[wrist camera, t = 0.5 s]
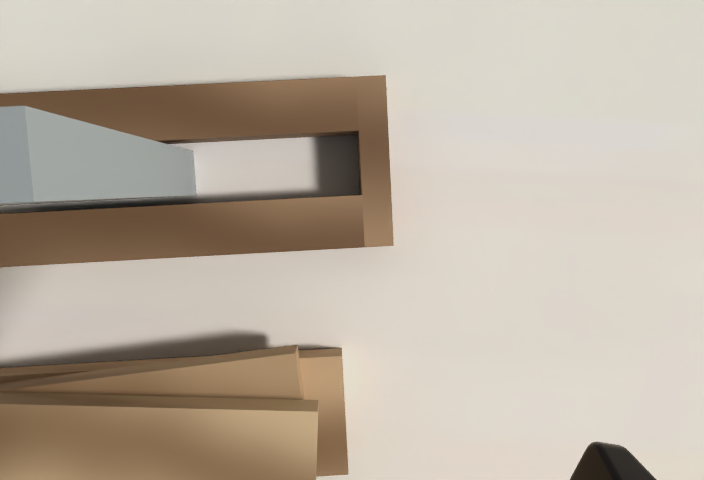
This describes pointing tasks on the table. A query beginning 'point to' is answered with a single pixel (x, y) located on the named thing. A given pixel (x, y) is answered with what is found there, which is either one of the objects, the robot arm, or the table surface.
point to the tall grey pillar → (84, 161)
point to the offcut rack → (188, 241)
